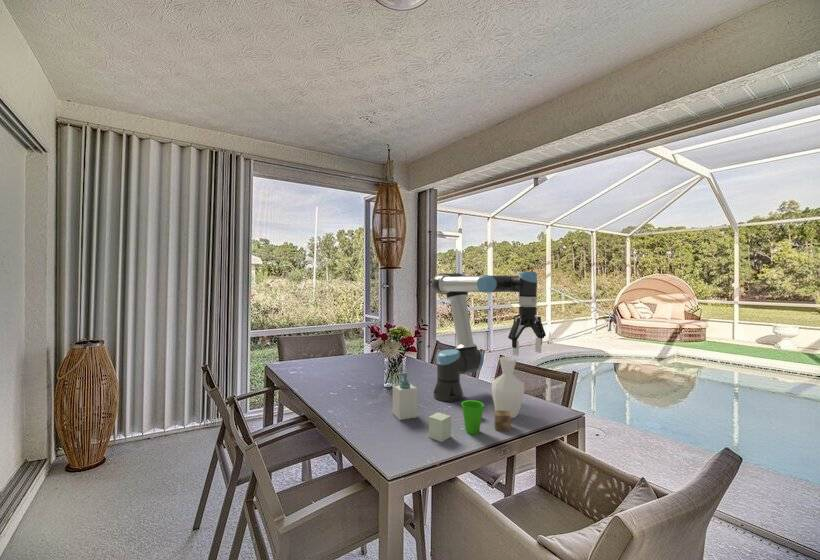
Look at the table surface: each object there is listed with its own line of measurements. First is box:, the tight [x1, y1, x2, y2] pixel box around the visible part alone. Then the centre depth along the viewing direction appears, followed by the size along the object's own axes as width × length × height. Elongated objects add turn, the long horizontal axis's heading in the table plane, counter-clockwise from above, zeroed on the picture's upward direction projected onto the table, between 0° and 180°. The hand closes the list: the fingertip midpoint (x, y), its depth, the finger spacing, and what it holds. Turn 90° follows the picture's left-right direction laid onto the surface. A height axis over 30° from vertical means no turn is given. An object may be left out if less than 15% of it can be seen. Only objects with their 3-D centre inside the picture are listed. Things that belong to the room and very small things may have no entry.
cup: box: [460, 399, 485, 435], centre depth 145 cm, size 9×9×11 cm
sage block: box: [428, 412, 452, 443], centre depth 140 cm, size 6×6×8 cm
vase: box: [491, 356, 525, 419], centre depth 163 cm, size 14×14×25 cm
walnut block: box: [494, 409, 512, 432], centre depth 149 cm, size 6×6×6 cm
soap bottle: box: [392, 371, 419, 421], centre depth 162 cm, size 9×9×19 cm
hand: (527, 353), depth 163 cm, fingers open, 13 cm apart
